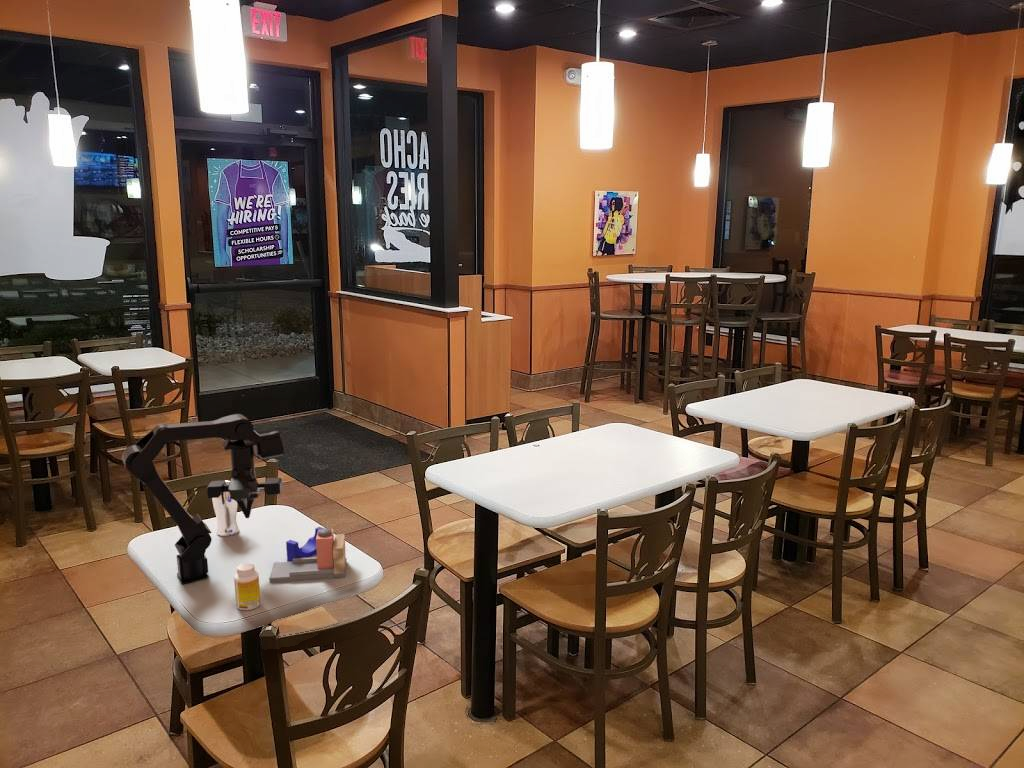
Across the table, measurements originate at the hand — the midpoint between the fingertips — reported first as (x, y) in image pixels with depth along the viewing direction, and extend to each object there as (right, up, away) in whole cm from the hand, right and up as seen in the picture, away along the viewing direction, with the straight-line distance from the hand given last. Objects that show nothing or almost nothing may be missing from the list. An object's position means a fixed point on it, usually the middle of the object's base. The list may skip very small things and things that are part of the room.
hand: (247, 517), depth 204 cm
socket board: (+17, -14, -2) cm, 22 cm away
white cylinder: (-14, -8, +22) cm, 27 cm away
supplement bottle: (+7, -18, -19) cm, 27 cm away
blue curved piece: (+13, -12, +8) cm, 20 cm away
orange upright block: (+21, -12, -2) cm, 25 cm away
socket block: (+25, -13, -1) cm, 28 cm away
